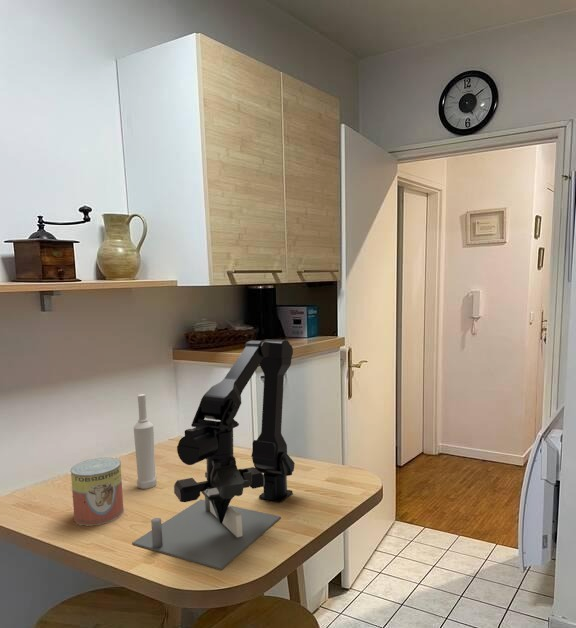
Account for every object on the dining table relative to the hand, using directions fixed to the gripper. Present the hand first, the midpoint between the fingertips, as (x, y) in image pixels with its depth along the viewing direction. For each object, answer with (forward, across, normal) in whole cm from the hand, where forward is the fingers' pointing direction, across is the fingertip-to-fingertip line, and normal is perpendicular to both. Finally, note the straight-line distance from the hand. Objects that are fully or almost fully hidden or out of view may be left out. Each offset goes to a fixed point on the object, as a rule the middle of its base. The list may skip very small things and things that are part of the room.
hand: (220, 522), depth 110 cm
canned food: (+4, -22, +25) cm, 33 cm away
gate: (+2, +2, +4) cm, 5 cm away
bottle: (+3, -8, +37) cm, 38 cm away
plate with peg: (+3, -1, +3) cm, 5 cm away
